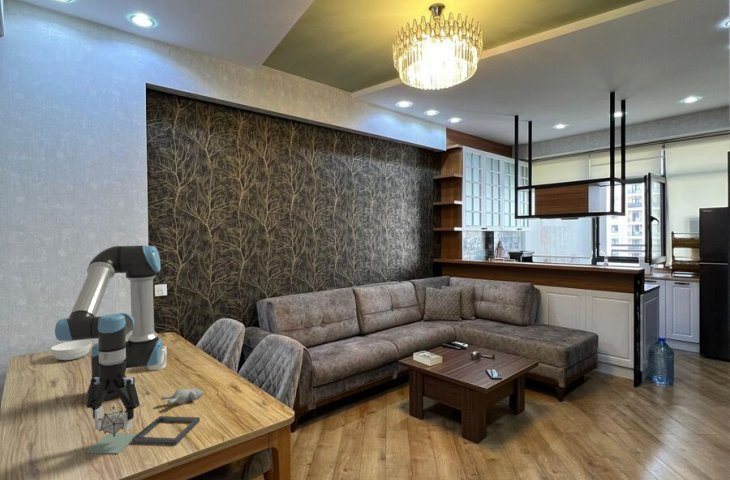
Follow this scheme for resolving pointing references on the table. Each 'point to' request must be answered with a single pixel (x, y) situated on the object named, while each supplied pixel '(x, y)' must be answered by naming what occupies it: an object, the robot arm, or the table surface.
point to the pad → (112, 444)
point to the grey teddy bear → (183, 396)
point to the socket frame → (172, 441)
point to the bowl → (71, 350)
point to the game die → (112, 421)
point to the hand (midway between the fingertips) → (113, 428)
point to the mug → (160, 361)
